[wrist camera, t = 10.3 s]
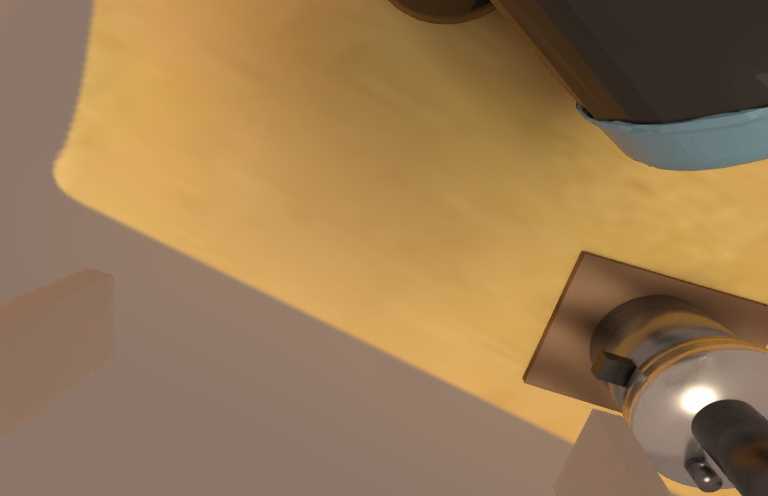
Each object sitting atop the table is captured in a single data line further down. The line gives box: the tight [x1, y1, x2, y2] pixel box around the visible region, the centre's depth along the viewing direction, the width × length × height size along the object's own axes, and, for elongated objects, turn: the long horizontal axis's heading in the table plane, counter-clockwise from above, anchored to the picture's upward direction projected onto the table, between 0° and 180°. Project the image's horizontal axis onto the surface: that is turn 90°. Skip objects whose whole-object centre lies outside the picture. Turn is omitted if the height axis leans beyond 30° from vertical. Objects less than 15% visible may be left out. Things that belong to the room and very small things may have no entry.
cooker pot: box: [590, 295, 751, 419], centre depth 34 cm, size 16×12×9 cm
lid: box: [625, 340, 768, 496], centre depth 25 cm, size 12×12×10 cm
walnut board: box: [523, 251, 768, 413], centre depth 39 cm, size 15×19×1 cm
